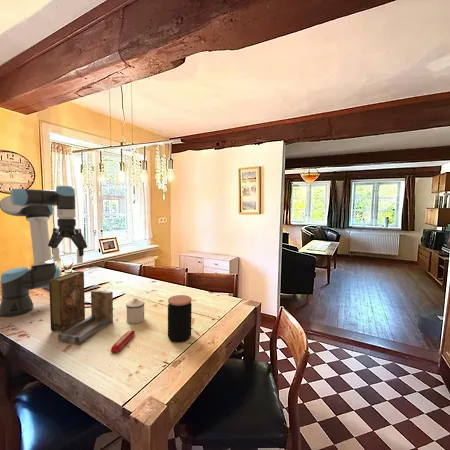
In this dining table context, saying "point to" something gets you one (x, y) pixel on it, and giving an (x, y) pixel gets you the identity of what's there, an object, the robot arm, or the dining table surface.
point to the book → (67, 301)
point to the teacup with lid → (135, 311)
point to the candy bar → (122, 341)
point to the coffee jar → (179, 318)
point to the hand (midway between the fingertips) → (68, 261)
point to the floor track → (98, 310)
